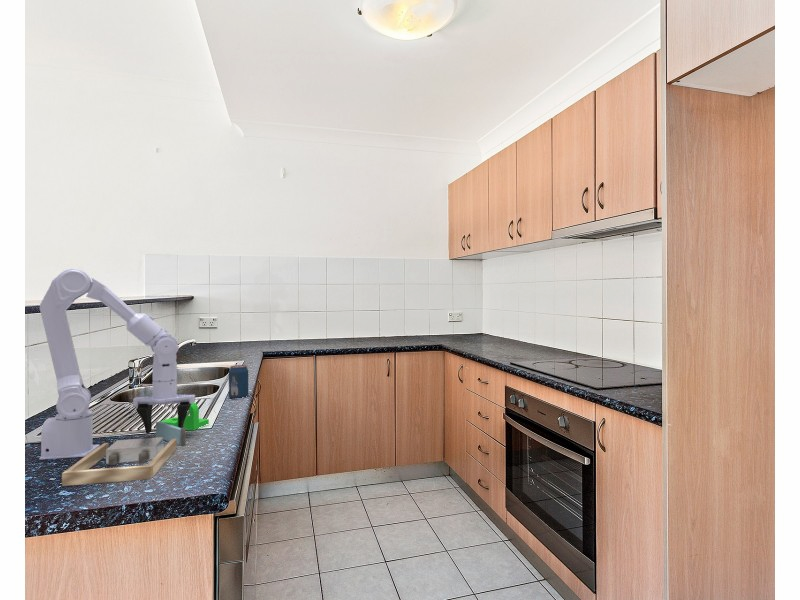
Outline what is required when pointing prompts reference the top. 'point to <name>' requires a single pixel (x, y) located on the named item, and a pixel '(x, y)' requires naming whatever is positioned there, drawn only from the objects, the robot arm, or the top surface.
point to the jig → (84, 476)
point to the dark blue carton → (238, 381)
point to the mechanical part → (189, 419)
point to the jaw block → (135, 449)
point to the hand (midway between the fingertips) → (164, 431)
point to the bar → (168, 432)
